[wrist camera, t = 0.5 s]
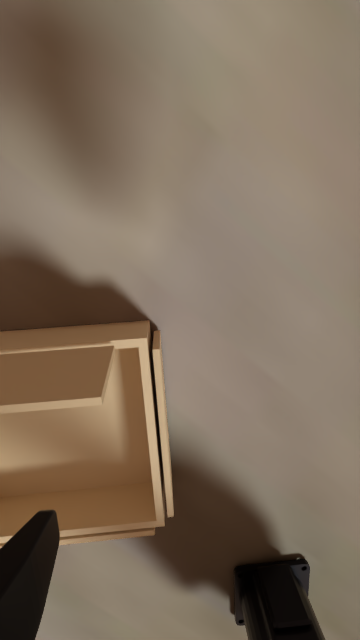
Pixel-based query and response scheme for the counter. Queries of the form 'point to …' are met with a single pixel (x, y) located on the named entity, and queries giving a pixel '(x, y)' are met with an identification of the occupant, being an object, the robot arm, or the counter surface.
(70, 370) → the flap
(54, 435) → the carton
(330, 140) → the counter surface
